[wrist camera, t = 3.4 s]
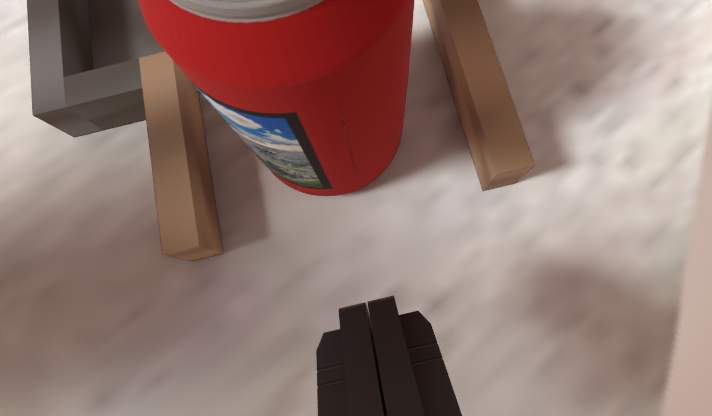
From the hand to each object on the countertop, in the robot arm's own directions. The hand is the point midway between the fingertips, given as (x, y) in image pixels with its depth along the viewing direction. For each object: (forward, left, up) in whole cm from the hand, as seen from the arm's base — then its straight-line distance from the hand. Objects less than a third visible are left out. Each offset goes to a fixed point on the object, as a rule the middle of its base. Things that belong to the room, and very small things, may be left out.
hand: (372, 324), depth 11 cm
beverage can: (-5, +7, -7) cm, 11 cm away
